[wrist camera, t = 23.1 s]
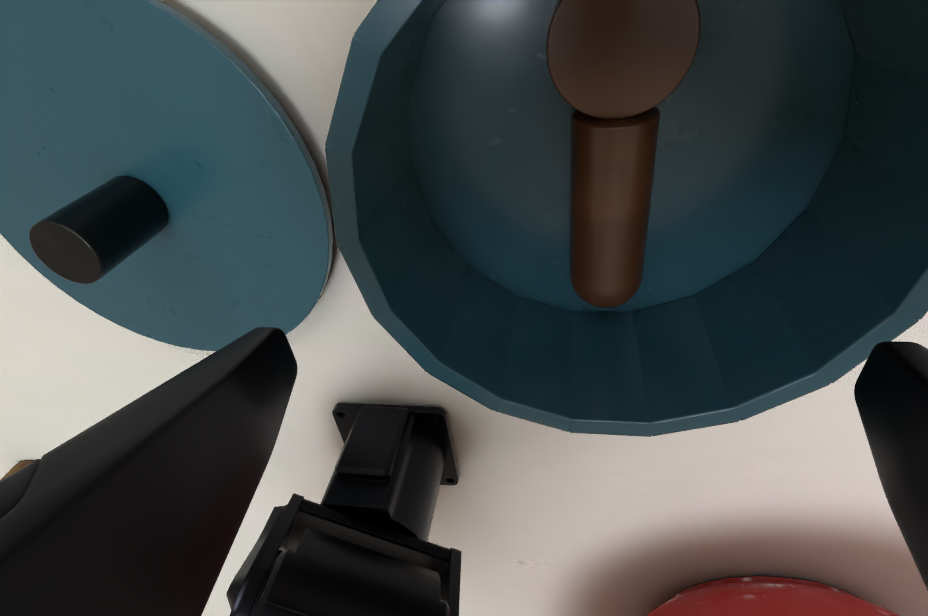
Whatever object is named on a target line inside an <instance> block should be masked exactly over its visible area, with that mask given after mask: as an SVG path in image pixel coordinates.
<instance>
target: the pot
mask: <svg viewBox="0 0 928 616" xmlns="http://www.w3.org/2000/svg"><path fill="white" fill-rule="evenodd" d="M697 2H698V6H699V11H700V21H701V29H700V39H699V44H698V48H697V51H696V54H695V57H694V60H693V62H692V64H691V66H690V69H689V70H688V72H687V74H686V75H685V77H684V79H683V80H682V81H681V82H680V84H679V85H678V86H677V88H676V89H675V90H674V91H673V92H672V93H671V94H670V95H669V96H668V97H667V98H665V99H664V100H663V101H662V102H660V103H659V104H657V105H656V106H655V107H656V108H657V109H658V110H659V112H660V120H659V129H658V138H657V147H656V157H655V166H654V175H653V184H652V193H651V203H650V212H649V221H648V230H647V239H646V249H645V258H644V267H643V276H642V281H641V284H640V287H639V289H638V291H637V292H636V293H635V295H634V296H633V297H632V298H631V299H630V300H628V301H627V302H625V303H624V304H622V305H619V306H616V307H612V308H599V307H595V306H592V305H590V304H588V303H586V302H585V301H583V300H582V299H581V298H580V297H579V296H578V295H577V294H576V292H575V291H574V289H573V286H572V284H571V280H570V189H571V116H572V114H573V113H574V112H575V111H576V110H577V109H575V108H574V107H572V106H571V105H570V104H569V103H567V101H566V100H565V99H564V98H563V97H562V96H561V95H560V93H559V92H558V90H557V89H556V87H555V85H554V83H553V81H552V79H551V76H550V73H549V69H548V64H547V56H546V43H547V35H548V29H549V23H550V18H551V14H552V11H553V8H554V5H555V3H556V0H378V1H377V2H376V3H375V5H374V6H373V8H372V9H371V11H370V12H369V13H368V15H367V16H366V18H365V19H364V20H363V22H362V23H361V25H360V26H359V27H358V29H357V30H356V32H355V34H354V36H353V38H352V42H351V46H350V50H349V54H348V58H347V61H346V65H345V69H344V73H343V77H342V81H341V85H340V89H339V93H338V97H337V101H336V105H335V109H334V113H333V116H332V120H331V124H330V128H329V132H328V136H327V140H326V144H325V145H326V147H325V151H326V160H327V168H328V177H329V186H330V195H331V204H332V213H333V221H334V230H335V239H336V241H337V245H338V247H339V249H340V251H341V253H342V255H343V257H344V259H345V261H346V263H347V265H348V267H349V269H350V271H351V273H352V275H353V277H354V280H355V282H356V284H357V286H358V288H359V290H360V292H361V294H362V296H363V298H364V300H365V302H366V304H367V306H368V308H369V310H370V312H371V314H372V316H374V318H375V320H376V321H377V322H378V323H379V324H380V325H381V326H382V327H383V328H384V329H385V330H386V331H387V332H388V333H389V334H390V335H391V336H392V337H393V338H394V339H395V340H396V341H397V342H398V343H399V344H400V345H401V346H402V347H403V348H404V349H405V350H406V351H407V353H408V354H409V355H410V356H411V357H412V358H413V359H414V360H415V361H416V362H417V363H418V364H419V365H420V366H421V367H422V368H423V369H424V370H425V371H426V372H428V373H429V374H430V375H432V376H434V377H435V378H437V379H439V380H441V381H442V382H444V383H446V384H448V385H449V386H451V387H453V388H454V389H456V390H458V391H460V392H461V393H463V394H465V395H467V396H468V397H470V398H472V399H474V400H475V401H477V402H479V403H480V404H482V405H484V406H486V407H487V408H489V409H491V410H495V411H496V412H500V413H503V414H507V415H510V416H514V417H517V418H521V419H524V420H528V421H531V422H535V423H538V424H542V425H546V426H549V427H553V428H556V429H560V430H563V431H569V432H570V433H587V434H608V435H628V436H649V437H651V436H657V435H662V434H668V433H674V432H680V431H686V430H692V429H698V428H704V427H710V426H715V425H721V424H727V423H733V422H738V421H739V420H745V419H747V418H749V417H752V416H754V415H757V414H759V413H762V412H764V411H767V410H769V409H771V408H774V407H776V406H779V405H781V404H784V403H786V402H789V401H791V400H793V399H796V398H798V397H801V396H803V395H806V394H808V393H811V392H813V391H816V390H818V389H820V388H823V387H825V386H828V385H829V384H830V383H834V382H835V381H837V380H838V379H839V378H841V377H842V376H844V375H845V374H846V373H848V372H849V371H850V370H852V369H853V368H855V367H856V366H857V365H859V364H860V363H862V362H863V361H864V360H866V359H867V358H868V357H869V355H870V353H871V351H872V349H873V348H874V346H876V345H877V344H878V343H880V342H885V341H890V342H891V341H892V340H893V339H895V338H896V337H898V336H899V335H900V334H902V333H903V332H904V331H906V330H907V329H909V328H910V327H911V326H913V325H914V324H916V323H917V322H918V321H919V319H922V318H923V316H924V315H925V314H926V313H927V311H928V0H697Z"/></svg>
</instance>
